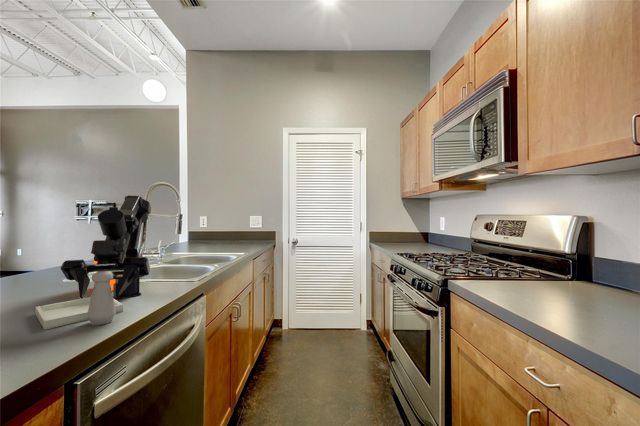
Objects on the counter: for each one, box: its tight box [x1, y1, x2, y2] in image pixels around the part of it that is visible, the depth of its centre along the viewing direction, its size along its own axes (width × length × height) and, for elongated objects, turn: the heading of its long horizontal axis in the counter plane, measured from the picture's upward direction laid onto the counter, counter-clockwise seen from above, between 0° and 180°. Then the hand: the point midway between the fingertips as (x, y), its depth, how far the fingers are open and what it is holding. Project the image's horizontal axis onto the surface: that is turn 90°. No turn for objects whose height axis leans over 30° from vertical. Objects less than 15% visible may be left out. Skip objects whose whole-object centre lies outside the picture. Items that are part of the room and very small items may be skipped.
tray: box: [35, 296, 124, 330], centre depth 77 cm, size 16×16×2 cm
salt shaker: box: [87, 271, 117, 326], centre depth 71 cm, size 6×6×13 cm
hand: (100, 296), depth 69 cm, fingers open, 7 cm apart
